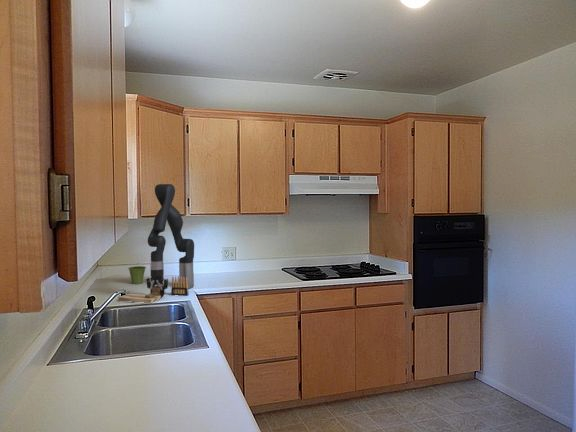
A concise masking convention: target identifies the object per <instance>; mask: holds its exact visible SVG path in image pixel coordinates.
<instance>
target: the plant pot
mask: <svg viewBox="0 0 576 432" xmlns="http://www.w3.org/2000/svg"><path fill="white" fill-rule="evenodd" d="M146 268H147V266H143V265H142V266H130V267H128V271H129V275H130V281H131V284H133V285H140V284H143V282H144V276H145V271H146Z"/></svg>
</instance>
